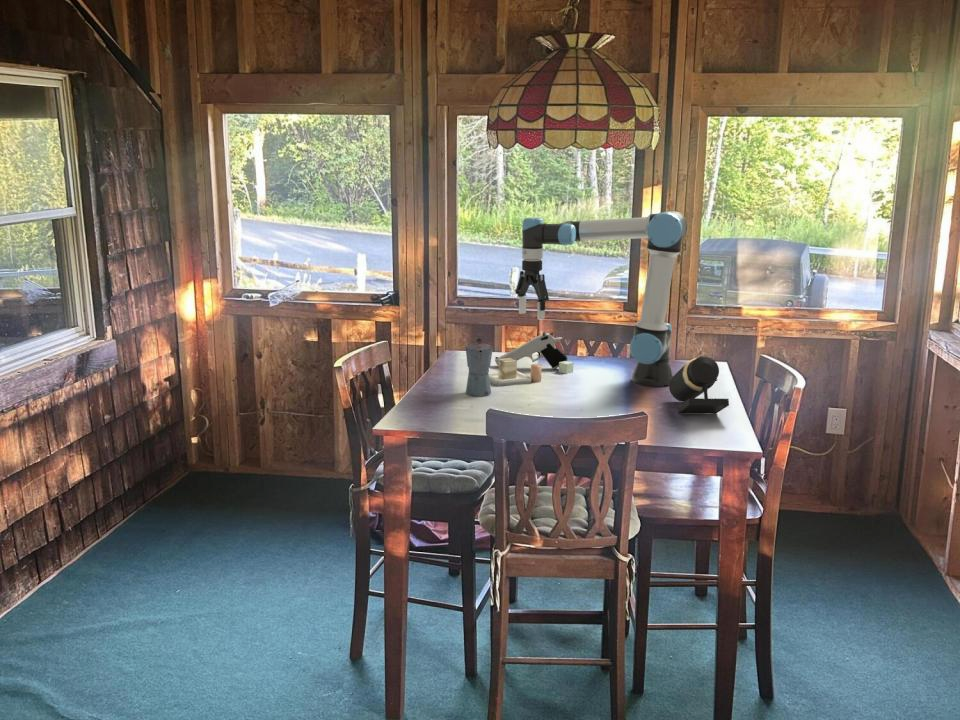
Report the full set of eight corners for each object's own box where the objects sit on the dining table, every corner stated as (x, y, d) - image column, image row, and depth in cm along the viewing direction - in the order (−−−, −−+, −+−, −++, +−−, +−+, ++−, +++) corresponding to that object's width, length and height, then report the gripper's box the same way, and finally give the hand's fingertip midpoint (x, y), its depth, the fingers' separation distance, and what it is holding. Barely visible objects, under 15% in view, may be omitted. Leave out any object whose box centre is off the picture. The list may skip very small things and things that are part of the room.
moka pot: (467, 399, 311) (468, 342, 306) (461, 387, 325) (462, 333, 321) (494, 398, 312) (496, 342, 308) (487, 387, 327) (488, 333, 322)
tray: (531, 382, 335) (531, 377, 334) (497, 386, 329) (497, 381, 328) (516, 375, 345) (516, 370, 345) (483, 378, 339) (483, 373, 339)
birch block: (516, 379, 336) (516, 360, 334) (504, 380, 333) (505, 362, 332) (510, 376, 340) (510, 358, 338) (498, 377, 338) (498, 359, 336)
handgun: (573, 360, 354) (555, 327, 351) (511, 391, 359) (493, 358, 357) (573, 358, 358) (555, 325, 355) (512, 388, 363) (494, 356, 360)
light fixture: (700, 372, 317) (724, 352, 292) (704, 421, 312) (729, 405, 288) (664, 371, 316) (685, 352, 291) (667, 421, 312) (689, 405, 287)
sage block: (573, 372, 352) (573, 362, 352) (566, 374, 350) (567, 364, 349) (565, 370, 355) (565, 360, 354) (558, 372, 352) (559, 362, 352)
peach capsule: (542, 381, 337) (543, 366, 335) (533, 382, 335) (534, 367, 334) (537, 379, 340) (538, 363, 339) (528, 380, 339) (529, 364, 337)
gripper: (506, 257, 342) (506, 312, 347) (541, 263, 321) (540, 322, 325) (523, 256, 346) (523, 310, 350) (558, 262, 324) (557, 320, 329)
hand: (531, 316), depth 338 cm, fingers open, 13 cm apart
